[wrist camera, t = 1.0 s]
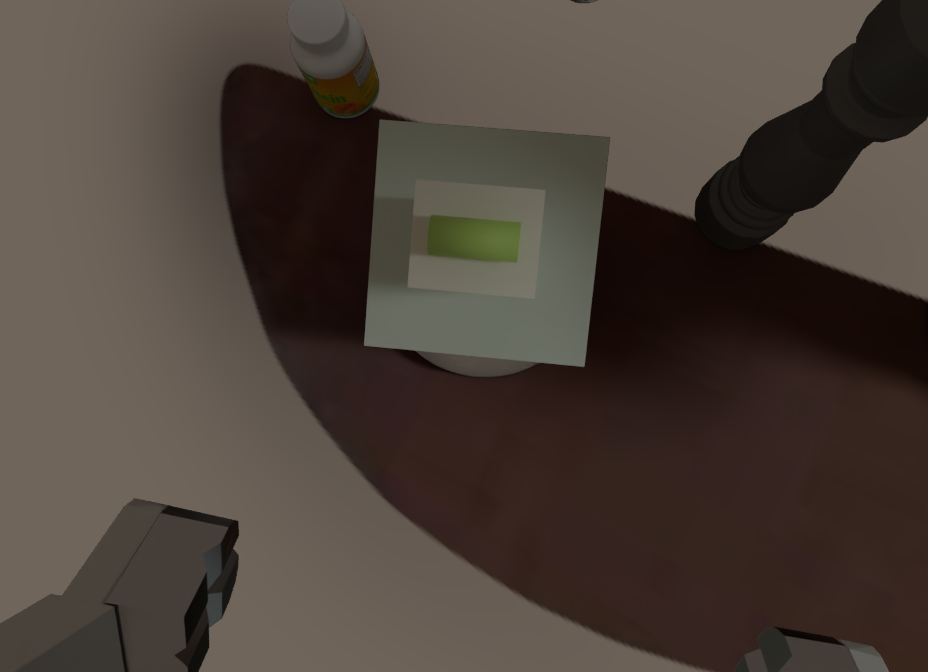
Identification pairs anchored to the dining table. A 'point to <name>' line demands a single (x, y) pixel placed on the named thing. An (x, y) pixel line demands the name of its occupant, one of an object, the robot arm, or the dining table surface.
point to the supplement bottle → (333, 56)
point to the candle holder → (824, 130)
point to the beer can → (584, 1)
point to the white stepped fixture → (485, 241)
